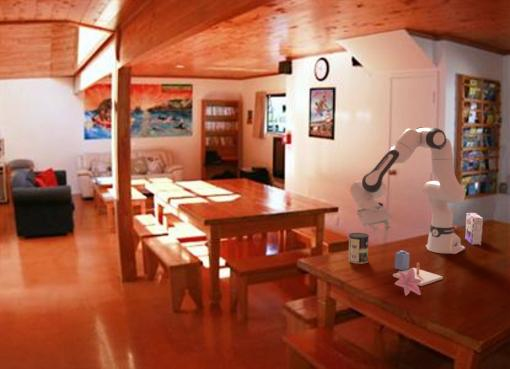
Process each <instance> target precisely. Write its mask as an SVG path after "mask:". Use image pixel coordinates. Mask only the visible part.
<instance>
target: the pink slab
mask: <svg viewBox="0 0 510 369" xmlns="http://www.w3.org/2000/svg"><path fill="white" fill-rule="evenodd" d="M420 265H421V264H420V262H417V263H416V267H412V268H413V269H414V273H415V278H416V279H419V280H421V281H422V282H420V283H419V284H417V286H418V287H419V286H420V287H423V286H425V285H428V284H432V283H436V282H438V281H440V280H443V276H441V275H439V274H435V273H433V272H429V271H426V270H423V269H421V268H420V267H421V266H420ZM410 269H411V268H409V269H407V270H404V271H402V270H401V272H403V273H405V274H407V273H408V271H409V270H410ZM392 277H394V278H396V279H398V280H399V279H401V276H400V274H399V271H398V272H396V273H393V274H392Z"/></svg>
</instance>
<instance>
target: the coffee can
mask: <svg viewBox="0 0 510 369" xmlns="http://www.w3.org/2000/svg"><path fill="white" fill-rule="evenodd" d="M369 237H370V235H369V234H368V233H365V232H364V233H363V232H351V233H349V234H348V262H349V263H352V264H359V265H360V264H366V263H369Z"/></svg>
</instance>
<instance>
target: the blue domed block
mask: <svg viewBox="0 0 510 369" xmlns="http://www.w3.org/2000/svg"><path fill="white" fill-rule="evenodd" d="M394 256H395V257H394V258H395V259H394V269H395V270H398V271H401V272H402V271H405V270H408V269H410V253H409V252H407V251H406V250H399V251H396V252H395V254H394Z"/></svg>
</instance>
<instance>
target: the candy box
mask: <svg viewBox="0 0 510 369" xmlns="http://www.w3.org/2000/svg"><path fill="white" fill-rule="evenodd" d="M483 223H484V217H482V216H481V215H479V214H478V213H476V212H466V215H465V236H464V239H465V240H466V241H467V242H468V243H469V244H470V245H472V246H474V245H476V246H482V238H483V226H484V224H483Z"/></svg>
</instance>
